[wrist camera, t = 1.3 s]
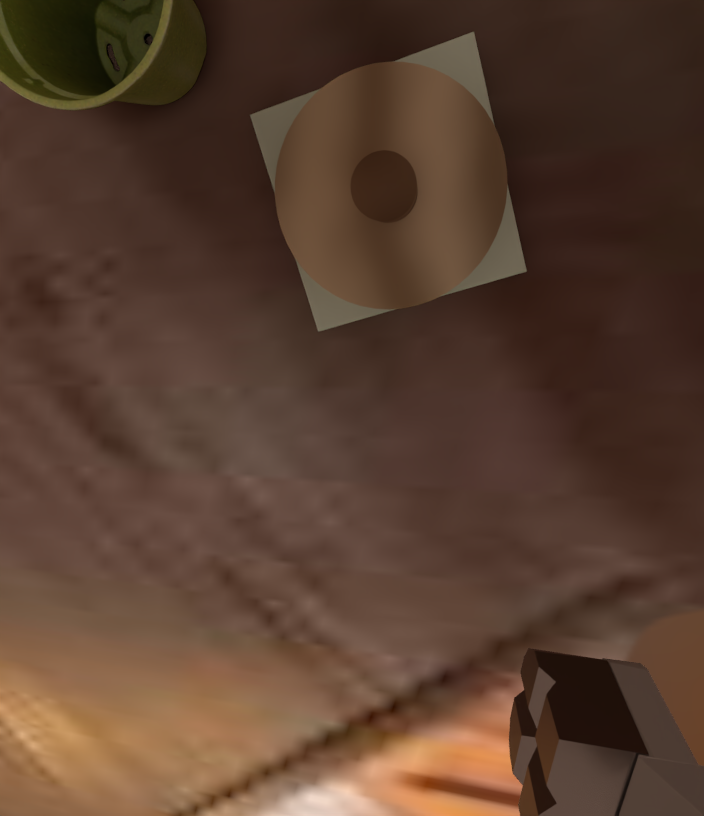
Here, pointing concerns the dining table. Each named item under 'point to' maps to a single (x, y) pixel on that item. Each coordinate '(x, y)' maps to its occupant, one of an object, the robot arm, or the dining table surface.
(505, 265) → the mat
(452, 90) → the lid
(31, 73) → the plant pot
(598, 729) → the robot arm
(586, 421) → the dining table surface
